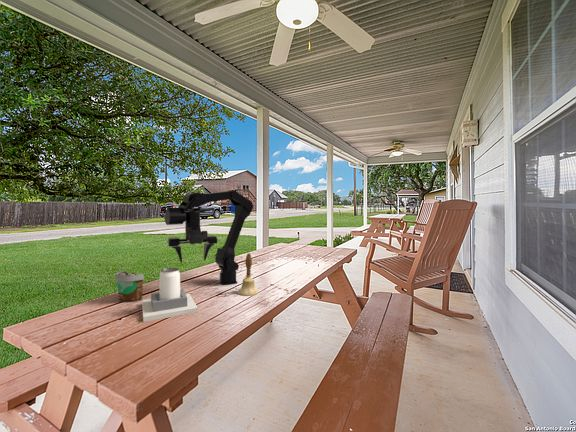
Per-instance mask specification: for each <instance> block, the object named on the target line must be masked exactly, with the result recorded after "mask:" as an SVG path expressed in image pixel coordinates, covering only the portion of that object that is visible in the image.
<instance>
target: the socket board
mask: <svg viewBox="0 0 576 432" xmlns="http://www.w3.org/2000/svg"><path fill="white" fill-rule="evenodd" d="M141 306H142V318H143V319H142V320H143V323H145V322H151V321H155V320H156V321H157V320H161V319H166V318H172V317H173V318H174V317H179V316H182V315H183V316H185V315H189V314H190V315H191V314H194V313H199V311H198V309H199V307H198V306H197V304H196V302H195V301H194V299H193V297H192V296H191V294H190V293H185V291H184V289H183V288H180V298H174V299H167V300H161V301H160V291H159V292H152V293H150V299H142V300H141Z"/></svg>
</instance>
